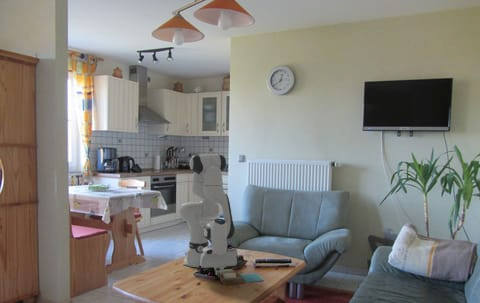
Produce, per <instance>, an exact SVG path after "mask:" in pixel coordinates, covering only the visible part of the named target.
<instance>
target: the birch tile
mask: <svg viewBox="0 0 480 303" xmlns="http://www.w3.org/2000/svg"><path fill="white" fill-rule="evenodd" d="M234 271H235V270H233V268H228V269H227V268H226V269H224V268H223V270H222V271H221V273H222V275H223V276H224V278H225V279H229V278H236V274H235V272H234Z"/></svg>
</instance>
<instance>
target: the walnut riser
mask: <svg viewBox="0 0 480 303" xmlns="http://www.w3.org/2000/svg"><path fill="white" fill-rule="evenodd" d="M233 271H234V272H235V274H236V278H229V279H225V278H224V276H223V275H222V273H221V274H220V275H219V276H220V279H219V280H220V283H221V284H222V285H223V286H230V285H232V286H233V285H243V284H244V279H243V278H242V277H241V276H240V274H241V273H239V272H238V271H237V270H233Z"/></svg>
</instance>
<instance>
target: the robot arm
mask: <svg viewBox="0 0 480 303" xmlns="http://www.w3.org/2000/svg"><path fill="white" fill-rule="evenodd" d="M188 164H189V169H190V170H191V172H193V174H192V188H191V189H192V190H191V191H192V194H193V195H194V196H196V197H197V198H199V199H200V201H188V202H184V203H182V204H181V205H180V207H179V210H178V213H179V216H180V218H181V219H182V220H183V221H184V222H186V224H187V225H188V227H189V241H188V242H189V243H188V249H187V251H185V252H184V255H185V256H184V260H183V262H182V264H183V266H187V267H191V268H192V267H193V268H205V269H206V268H213V269H214V272H215V275H216V276H218V275H220V274H221V271H222V270H224V267H233V266H237V264H238V258H237V256H238V250H237V249H236V248H235V247H234V248H228V241H227V240H230V239H232V238H233V237H234V235H235V234H236V228H235V224H234V220H233V214H232V209H231V208H232V207H231V203H230V198H229V196H228V194H227V193H226V192H225V190H224V187H223V172H224V171H225V169H226V167H227V160H226V157H225V156H224V155H222V154H213V153H207V154H205V153H204V154H203V153H202V154H194V155H191V157H190V159H189V163H188ZM220 206H221V209H222V216H223V218H217V217H218V216H219V214H220V212H221V211H220V210H221V209H220ZM211 219H213V220H212V221H210V222H207V223H205V225H203V224H202V223H200V222H201V221H200V220H211ZM209 241H211V243H210V245H209ZM199 266H201V267H199ZM218 267H220V269H219V270H217V269H218Z"/></svg>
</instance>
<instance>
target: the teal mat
mask: <svg viewBox="0 0 480 303" xmlns="http://www.w3.org/2000/svg"><path fill="white" fill-rule="evenodd" d="M239 274H240V276H241V277H242V278H243V282H245V283H255V282H256V283H257V282H263V281H264V279H263V278H262V277H261V276H260V275H259V274H258V273H257V272H255V273H252V272H251V273H239Z"/></svg>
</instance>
